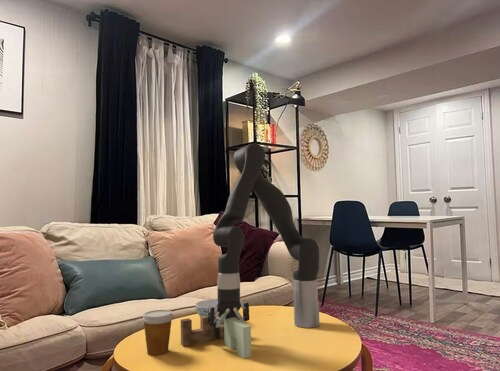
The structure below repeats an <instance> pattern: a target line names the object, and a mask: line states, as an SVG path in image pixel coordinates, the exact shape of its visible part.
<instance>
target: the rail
mask: <svg viewBox="0 0 500 371" xmlns="http://www.w3.org/2000/svg"><path fill="white" fill-rule="evenodd" d="M216 316H217V314H214V321H215V319H216ZM199 318H200V328H195V329H193V327H192V325H193V324H192V323H193V321H192V319H191V318H189V317H188V318H183V319H180V345H181V346H182V347H189V346H193V345H198V344H199V345H200V344H204V343H209V342H214V341H218V340H219V341H220V340H224V324H221V325H220V326H219V328H220V339H218V340H217V339H216V338H215V337H214V327H211V326H210V325H208V315H207V316H201V317H200V316H199ZM234 318H236V317H234ZM236 319H237V318H236Z"/></svg>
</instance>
